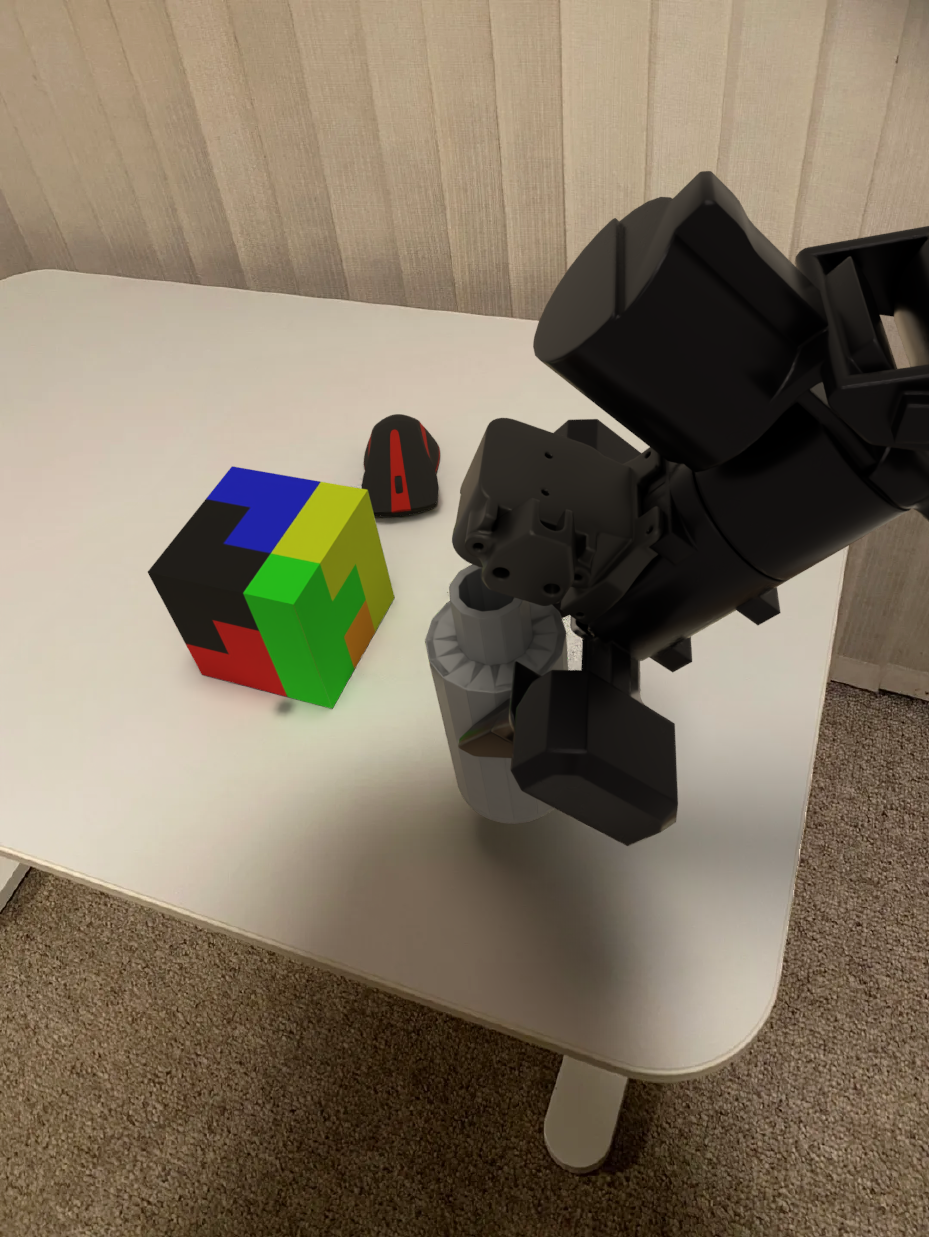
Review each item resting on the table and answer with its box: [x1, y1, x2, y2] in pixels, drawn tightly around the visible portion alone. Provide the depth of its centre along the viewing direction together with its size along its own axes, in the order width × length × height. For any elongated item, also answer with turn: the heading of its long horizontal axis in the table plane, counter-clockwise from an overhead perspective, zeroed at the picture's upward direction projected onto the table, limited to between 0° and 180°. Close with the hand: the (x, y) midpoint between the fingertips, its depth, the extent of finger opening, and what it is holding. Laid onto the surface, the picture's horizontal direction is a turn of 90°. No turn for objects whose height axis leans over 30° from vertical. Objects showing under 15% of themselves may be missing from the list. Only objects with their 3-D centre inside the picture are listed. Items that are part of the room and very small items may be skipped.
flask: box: [424, 564, 569, 825], centre depth 43 cm, size 6×6×14 cm
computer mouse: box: [361, 413, 441, 518], centre depth 72 cm, size 6×11×4 cm, turn 4°
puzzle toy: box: [147, 465, 396, 710], centre depth 60 cm, size 10×10×10 cm
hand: (473, 690), depth 43 cm, fingers closed on flask, 6 cm apart
